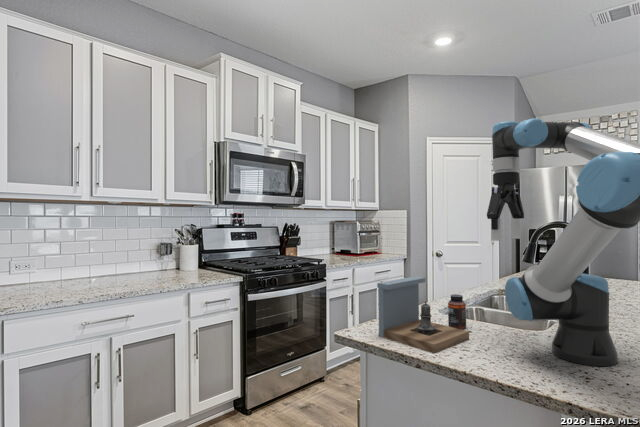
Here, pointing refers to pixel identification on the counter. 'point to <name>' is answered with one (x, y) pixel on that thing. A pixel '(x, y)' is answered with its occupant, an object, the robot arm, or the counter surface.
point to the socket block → (426, 336)
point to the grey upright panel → (398, 302)
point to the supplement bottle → (457, 312)
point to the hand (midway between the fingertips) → (506, 239)
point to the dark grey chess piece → (425, 321)
